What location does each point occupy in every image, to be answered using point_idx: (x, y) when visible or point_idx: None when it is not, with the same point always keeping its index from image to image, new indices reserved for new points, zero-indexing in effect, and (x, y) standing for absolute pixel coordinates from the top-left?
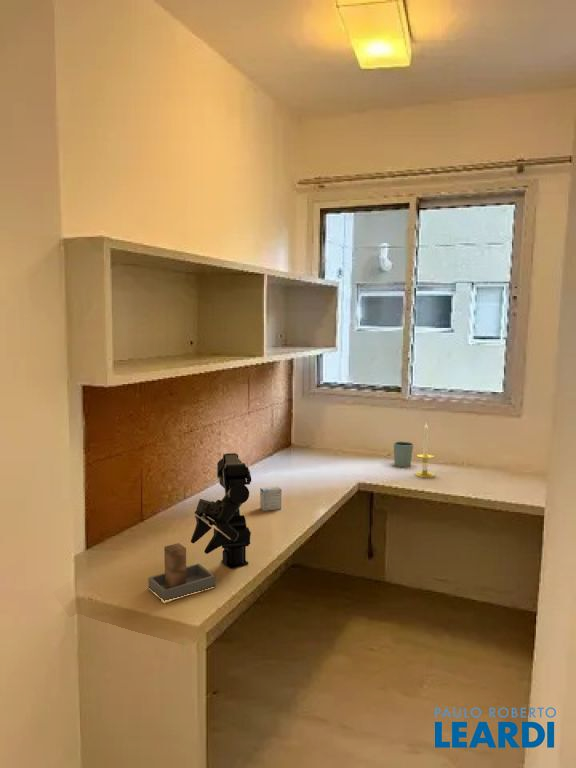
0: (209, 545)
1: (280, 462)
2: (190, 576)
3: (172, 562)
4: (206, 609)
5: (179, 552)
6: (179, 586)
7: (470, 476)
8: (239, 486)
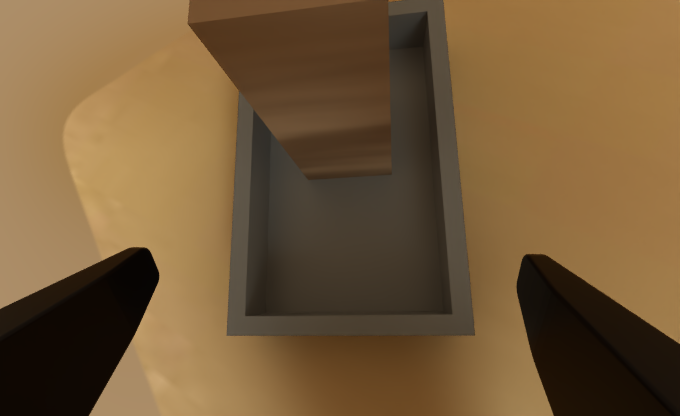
0: (22, 299)
1: None
2: (428, 257)
3: None
4: (115, 191)
5: None
6: (242, 101)
7: None
8: None
